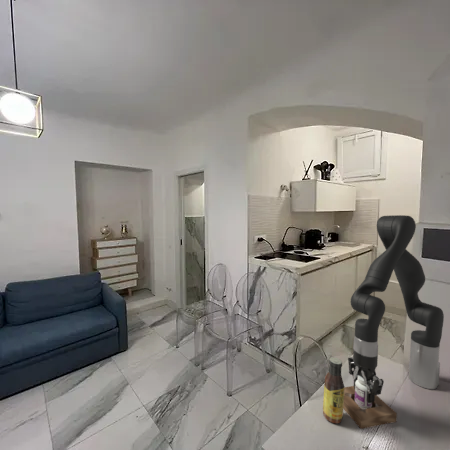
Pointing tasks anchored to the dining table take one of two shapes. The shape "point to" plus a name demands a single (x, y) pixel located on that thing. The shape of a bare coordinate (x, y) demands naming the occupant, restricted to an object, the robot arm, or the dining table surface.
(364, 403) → the pill bottle
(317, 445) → the dining table surface
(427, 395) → the dining table surface
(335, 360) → the sauce bottle
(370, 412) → the mount
